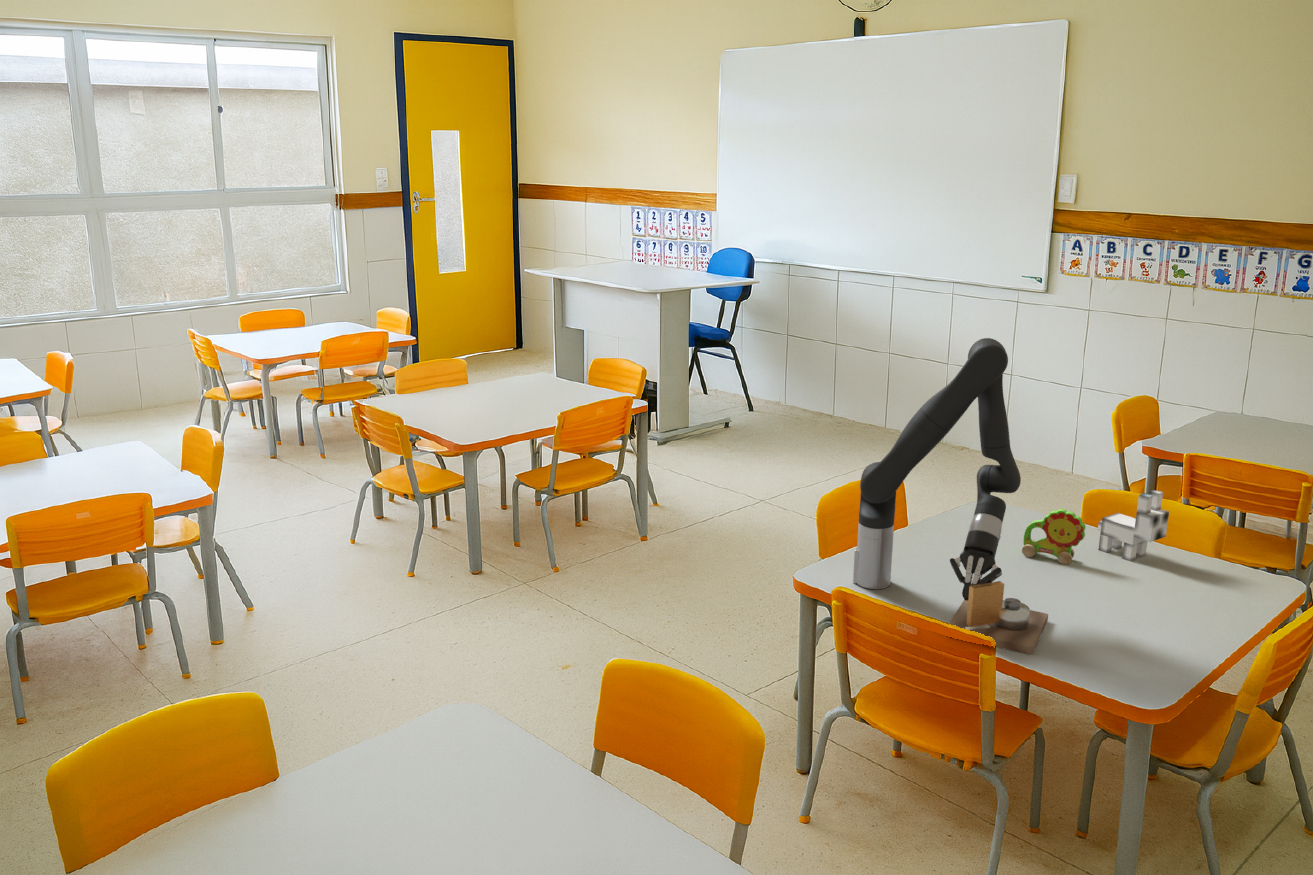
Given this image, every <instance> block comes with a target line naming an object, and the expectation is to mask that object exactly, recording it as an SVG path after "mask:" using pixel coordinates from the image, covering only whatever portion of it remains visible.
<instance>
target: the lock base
mask: <svg viewBox="0 0 1313 875" xmlns="http://www.w3.org/2000/svg"><path fill="white" fill-rule="evenodd" d="M967 610H968V601H966V600H964V599H963V601H962V603H961V604H960V606H959V607H958V608H957V610H956V612H955V613H953V614H954V615H953V616H952V618H951V619H950V620H949V622H948V624H951V625H956V626H958V627H960V628H964V629H967V630H970V631H975V632H978V633H981V634H984V635H985V636H990V637H992V638H993V639H994V640H995V642H996V646H997V647H996V648H998V647H999V649H1003V648H1005V649H1004V650H1007V649H1008V651H1011V650H1012V651H1013V652H1016V653H1021V654H1025V655H1030V656H1033V654H1034V652H1035V650H1036V647H1037V646H1038V642H1039V641H1040V639H1041V637H1040V636H1042V634H1043V631H1044V630H1045V628H1046V625H1047V623H1048V621H1049V613H1047V612H1046V613H1045V612H1041V611H1036V610H1032V609H1030V612H1029V621H1028V627H1027V628H1025V629H1021V630H1010V629H1005V628H1002V627H1000V626H998V625H996V624H995V623H992V624H986V625H980V626H974V627H969V626H968V625H967V624H966V622H967ZM1034 649H1035V650H1034Z"/></svg>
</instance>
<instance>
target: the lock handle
mask: <svg viewBox="0 0 1313 875" xmlns="http://www.w3.org/2000/svg"><path fill="white" fill-rule="evenodd" d="M1004 590H1005V583H1004V582H1002V581H1001V580H999V581H993V582H991V583H985V584H978V585H972V586H970V587H969V598H968V610H967V622H966V624H967V625H968V626H969V627H974V626H980V625H986V624H992V623H995V624H996V625H998V626H1000V627H1002V628H1005V629H1010V630H1021V629H1025V628H1027V627H1028V621H1029V612H1030V610H1031V609H1030V607H1029V606H1028V605H1027V604H1025V603H1023V602H1021V600H1020V599H1018V598H1013V597H1007V598H1005V599H1004V593H1005V591H1004Z"/></svg>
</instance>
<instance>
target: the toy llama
mask: <svg viewBox="0 0 1313 875" xmlns="http://www.w3.org/2000/svg"><path fill="white" fill-rule="evenodd" d="M1163 496H1164V492H1163V491H1160V490H1156V489H1153V490H1149V492H1148V493H1145V492H1143V493H1140V494H1138V499H1137V508H1136V516H1135V518H1134V517H1133V516H1130V515H1125V514H1123V513H1120V512H1116V513H1114V514H1110V515H1107V516H1104V517H1102V519H1101V520H1100V521H1098V523H1097V524H1098V526H1097V530H1098V531H1100V536H1099V543H1098V551H1099V552H1102V553H1106V554H1107V553H1110V552H1112V549H1114V550H1117V549H1121V548H1123V550H1122V556H1121V557H1122V558H1121V559H1122V560H1125V561H1128V562H1133V561H1135V560H1136V558H1137V557H1138V558H1143V557H1146V555H1147V548H1148V543H1152V542H1155V541H1157V540H1160V539H1161V540H1162V539H1163V538H1166V537H1167V529H1168V523H1169V517H1170V516H1169V515H1170V511H1169V510H1165V509H1162V503H1163Z"/></svg>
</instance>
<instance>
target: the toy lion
mask: <svg viewBox="0 0 1313 875" xmlns="http://www.w3.org/2000/svg"><path fill="white" fill-rule="evenodd" d="M1035 528H1040V529H1041V530H1043V532H1044V533H1045V535H1046V537H1044V538H1040V539H1038V540H1034V539H1032V536H1031V535H1032V531H1033V530H1034V529H1035ZM1085 530H1086V524H1085V523H1084V522H1083V519H1082V517H1080V516H1079V515H1076V513H1075V512H1074V511H1070V510H1066V508H1059V509H1058V510H1052V511H1051V512H1050V513H1049V514H1047V515H1045V516H1044V518H1043V519H1036V520H1033V521H1031V522H1030V523H1029V525H1028V526H1027V527H1026V528H1025V530H1024V534H1023V546H1022V548H1021V553H1022V555H1023V556H1024V557H1027V558H1032V557H1034V556H1035V555H1036V554H1038V553H1039V554H1040V553H1042V554H1048V555H1051V556H1054V557H1055V558H1057V561H1058V562H1059V563H1060V564H1061V565H1065V566H1066V565H1069V564H1071V562H1072V561H1073V558H1074V556H1075V550H1074V548H1073V547H1077V546H1078V545H1079V544H1080V543H1081V541H1083V540H1084V539H1085V536H1086V533H1085Z"/></svg>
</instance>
